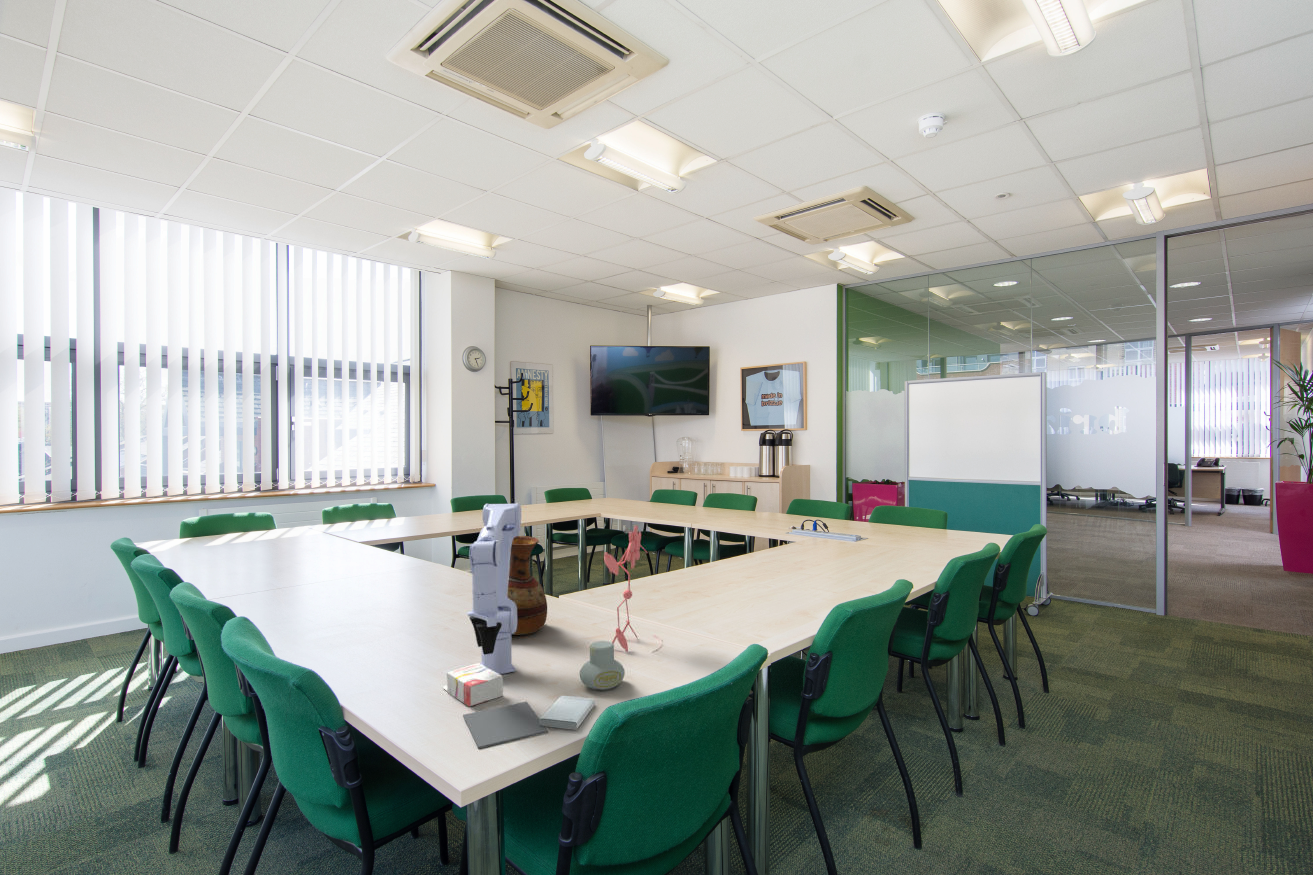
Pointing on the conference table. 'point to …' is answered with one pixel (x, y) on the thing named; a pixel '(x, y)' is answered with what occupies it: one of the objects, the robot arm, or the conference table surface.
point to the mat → (503, 724)
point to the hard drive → (567, 712)
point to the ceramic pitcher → (525, 588)
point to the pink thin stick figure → (613, 567)
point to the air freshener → (602, 667)
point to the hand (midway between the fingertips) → (485, 649)
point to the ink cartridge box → (474, 684)
